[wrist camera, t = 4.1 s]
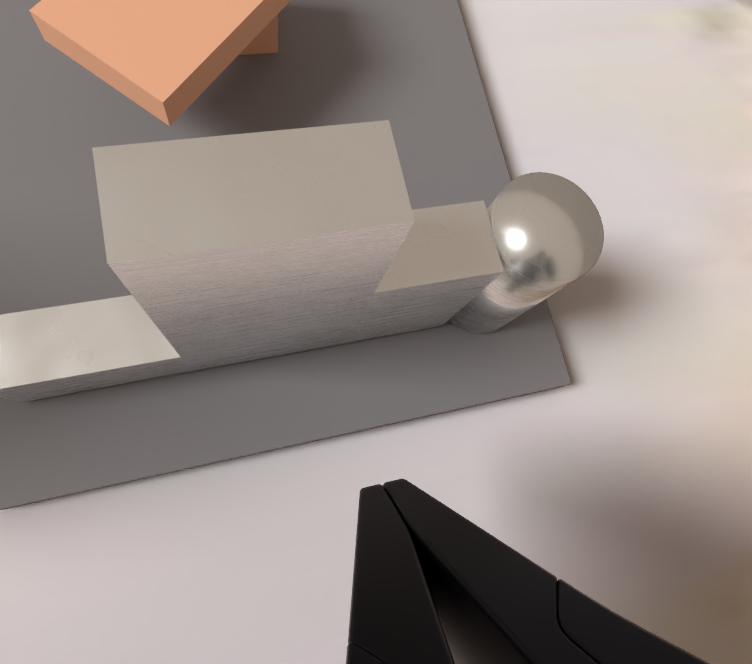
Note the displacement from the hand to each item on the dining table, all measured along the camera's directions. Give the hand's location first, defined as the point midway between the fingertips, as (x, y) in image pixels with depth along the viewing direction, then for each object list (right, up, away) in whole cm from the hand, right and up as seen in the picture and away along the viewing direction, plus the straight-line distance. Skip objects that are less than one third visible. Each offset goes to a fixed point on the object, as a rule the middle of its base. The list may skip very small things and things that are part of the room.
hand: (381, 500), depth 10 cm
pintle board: (-4, +7, +9) cm, 12 cm away
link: (-3, +3, +7) cm, 8 cm away
